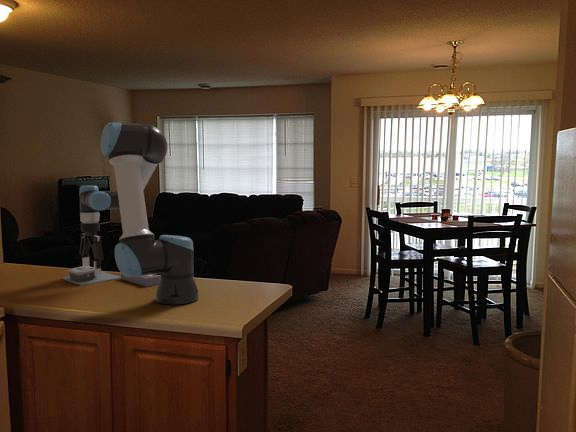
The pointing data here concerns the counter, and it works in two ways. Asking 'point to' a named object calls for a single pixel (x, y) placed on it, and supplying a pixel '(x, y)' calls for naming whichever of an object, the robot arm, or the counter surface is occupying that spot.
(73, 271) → the electrical switch
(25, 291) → the counter surface
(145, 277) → the power strip
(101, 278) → the mat
